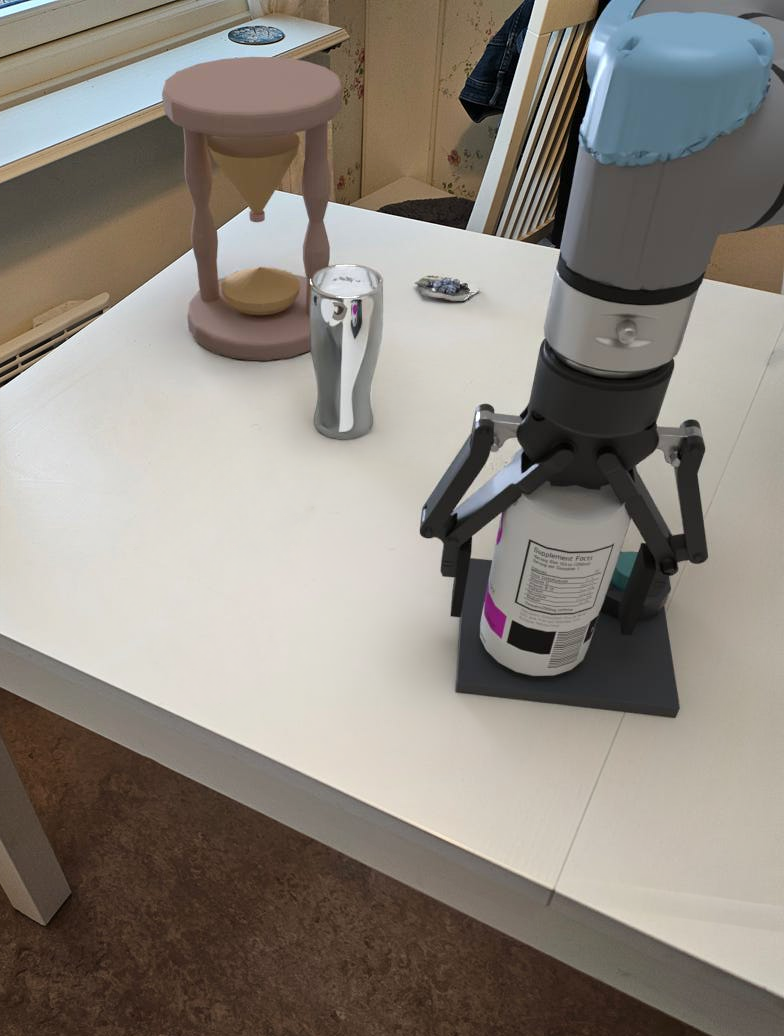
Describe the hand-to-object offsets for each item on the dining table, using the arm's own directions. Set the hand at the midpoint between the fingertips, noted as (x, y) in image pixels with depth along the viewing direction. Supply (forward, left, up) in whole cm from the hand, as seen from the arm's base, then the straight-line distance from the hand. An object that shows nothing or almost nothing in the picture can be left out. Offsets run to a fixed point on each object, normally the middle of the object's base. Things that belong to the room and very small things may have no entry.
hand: (539, 613), depth 67 cm
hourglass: (+31, -48, -5) cm, 57 cm away
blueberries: (+10, -59, -5) cm, 60 cm away
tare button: (-7, -6, -2) cm, 10 cm away
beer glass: (+19, -29, -5) cm, 35 cm away
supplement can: (0, 0, -3) cm, 3 cm away
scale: (-2, -2, -4) cm, 5 cm away
